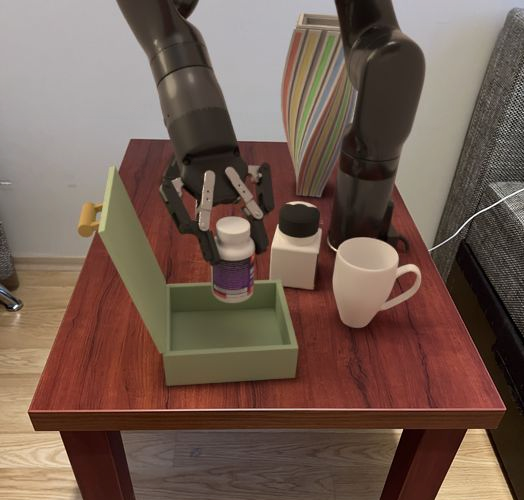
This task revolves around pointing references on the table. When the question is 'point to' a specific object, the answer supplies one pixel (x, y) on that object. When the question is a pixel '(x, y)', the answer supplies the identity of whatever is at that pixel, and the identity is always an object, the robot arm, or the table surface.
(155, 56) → the robot arm
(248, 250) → the pill bottle
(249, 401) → the table surface
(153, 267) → the green box lid
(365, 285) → the mug
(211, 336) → the green open box
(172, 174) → the phone
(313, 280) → the medicine bottle
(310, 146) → the vase
